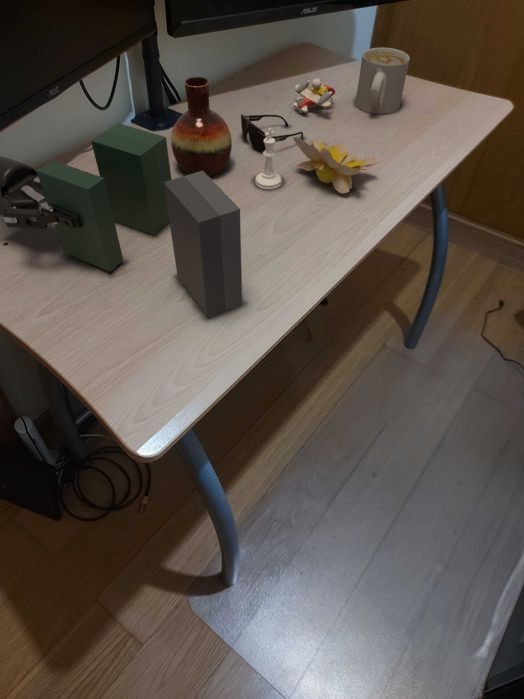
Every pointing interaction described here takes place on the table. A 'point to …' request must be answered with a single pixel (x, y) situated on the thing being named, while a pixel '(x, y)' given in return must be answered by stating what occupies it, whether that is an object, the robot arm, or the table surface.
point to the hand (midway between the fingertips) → (88, 215)
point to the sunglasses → (260, 131)
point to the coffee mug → (382, 80)
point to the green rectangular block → (134, 176)
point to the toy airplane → (313, 95)
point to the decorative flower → (332, 163)
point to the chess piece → (268, 166)
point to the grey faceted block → (205, 241)
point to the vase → (200, 133)
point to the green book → (83, 214)
